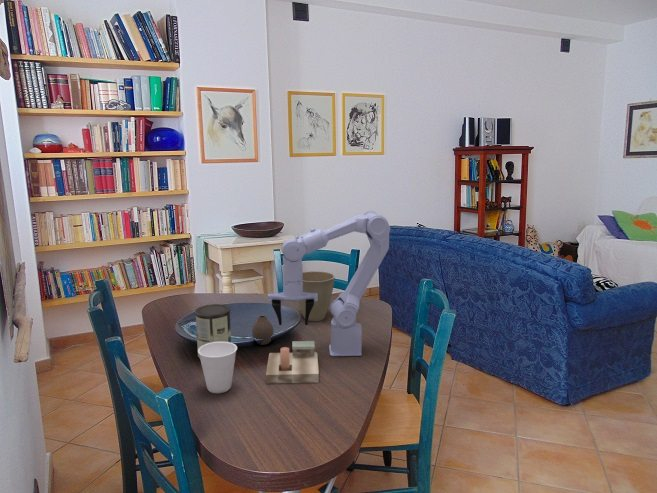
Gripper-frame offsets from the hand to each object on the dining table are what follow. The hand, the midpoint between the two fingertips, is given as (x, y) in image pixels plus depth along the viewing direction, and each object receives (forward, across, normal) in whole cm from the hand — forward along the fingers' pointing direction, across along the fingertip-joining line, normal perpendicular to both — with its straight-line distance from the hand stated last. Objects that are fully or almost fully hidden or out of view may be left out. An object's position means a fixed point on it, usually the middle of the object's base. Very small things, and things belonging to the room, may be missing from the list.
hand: (293, 323), depth 147 cm
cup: (+10, +19, +20) cm, 29 cm away
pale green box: (+10, -3, +6) cm, 12 cm away
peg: (+10, +2, +14) cm, 17 cm away
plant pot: (+10, -7, -32) cm, 34 cm away
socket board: (+10, 0, +11) cm, 15 cm away
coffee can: (+10, +24, -2) cm, 26 cm away
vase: (+10, +10, -10) cm, 17 cm away
